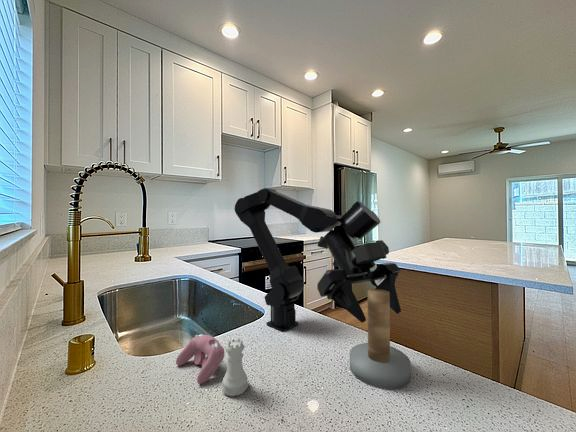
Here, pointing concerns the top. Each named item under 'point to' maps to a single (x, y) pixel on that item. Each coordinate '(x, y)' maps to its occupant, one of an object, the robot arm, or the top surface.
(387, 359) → the teak pillar
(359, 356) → the grey plinth
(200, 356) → the video game controller
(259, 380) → the top surface
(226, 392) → the rook chess piece
